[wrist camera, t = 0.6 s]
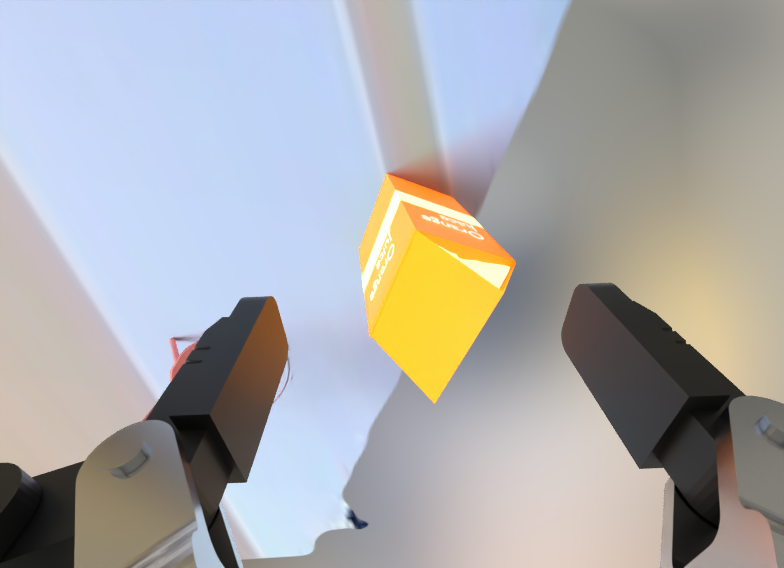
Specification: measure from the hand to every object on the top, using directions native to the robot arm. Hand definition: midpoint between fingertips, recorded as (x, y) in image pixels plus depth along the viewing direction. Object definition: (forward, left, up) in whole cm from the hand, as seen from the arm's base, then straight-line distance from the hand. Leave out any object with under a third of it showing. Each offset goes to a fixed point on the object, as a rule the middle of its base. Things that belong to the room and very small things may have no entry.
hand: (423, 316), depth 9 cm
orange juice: (+7, -5, -26) cm, 28 cm away
